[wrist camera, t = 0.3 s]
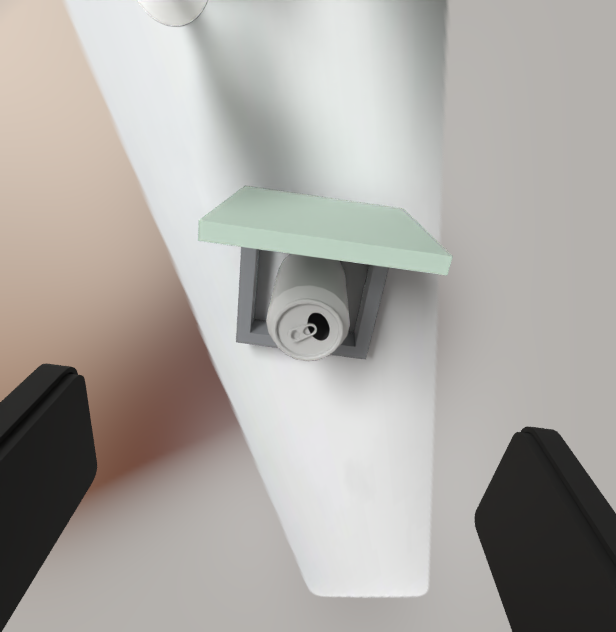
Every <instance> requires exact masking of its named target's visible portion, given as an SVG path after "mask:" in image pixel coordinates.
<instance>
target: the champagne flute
mask: <svg viewBox="0 0 616 632" xmlns="http://www.w3.org/2000/svg"><path fill="white" fill-rule="evenodd" d="M137 1H138V2H139V4H140V5H141V7H142V8H143V9H144V10H145V12H146V13H147V14H149V15H150V16H151V17H152V18H153V19H155V20H157V21H158V22H160V23H163V24H165V25H169V26H182V25H185V24H188V23H190V22H192V21H193V20H195V19H196V18H197V17H198V16H199V15H200V13H201V12H202V10H203V9H204V7H205V5H206V2H207V0H137Z"/></svg>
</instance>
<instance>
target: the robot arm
mask: <svg viewBox="0 0 616 632" xmlns="http://www.w3.org/2000/svg"><path fill="white" fill-rule="evenodd" d="M96 471H97V460H96V453H95V446H94V439H93V433H92V426H91V419H90V412H89V405H88V398H87V391H86V385H85V379H84V377H83V376H82V375H78V373H77V370H76V369H75V368H73V367H69V366H61V365H53V364H42V365H41V366H39V367H38V368H37V369H36V370H35V371H34V372H33V373H31V375H29V376H28V377H27V378H26V379H25V380H24V381H23V382H22V383H21V384H20V385H19V386H18V387H17V388H15V389H14V390H13V391H12V392H11V393H10V394H9V395H8V396H7V397H6V398H5V399H4V400H2V402H0V632H2V630H3V628H4V627H5V625H6V624H7V622H8V620H9V619H10V617H11V616H12V614H13V612H14V611H15V609H16V607H17V606H18V604H19V602H20V601H21V599H22V597H23V596H24V594H25V592H26V591H27V589H28V588H29V586H30V584H31V583H32V581H33V579H34V578H35V576H36V574H37V573H38V571H39V569H40V568H41V566H42V565H43V563H44V561H45V560H46V558H47V556H48V555H49V553H50V551H51V550H52V548H53V546H54V545H55V543H56V541H57V540H58V538H59V536H60V535H61V533H62V531H63V530H64V528H65V527H66V525H67V523H68V522H69V520H70V518H71V516H72V515H73V513H74V512H75V510H76V509H77V507H78V505H79V504H80V502H81V500H82V499H83V497H84V495H85V494H86V492H87V490H88V489H89V487H90V486H91V484H92V482H93V480H94V478H95V475H96ZM475 527H476V530H477V533H478V536H479V539H480V542H481V544H482V547H483V550H484V553H485V555H486V559H487V561H488V564H489V567H490V570H491V573H492V575H493V578H494V581H495V584H496V587H497V589H498V592H499V595H500V598H501V601H502V604H503V607H504V609H505V612H506V615H507V618H508V620H509V623H510V626H511V629H512V632H616V513H615V512H614V510H613V509H612V508H611V506H610V505H609V503H608V502H607V500H606V499H605V498H604V496H603V495H602V494H601V492H600V491H599V489H598V488H597V486H596V485H595V484H594V482H593V481H592V479H591V478H590V476H589V475H588V474H587V472H586V471H585V469H584V468H583V467H582V465H581V464H580V462H579V461H578V460H577V458H576V457H575V455H574V454H573V452H572V451H571V450H570V448H569V447H568V445H567V444H566V443H565V441H564V440H563V438H562V437H561V435H560V434H559V433H558V432H557V431H555V430H551V429H544V428H536V427H525V428H523V429H522V430H521V432H517V433H515V434H514V436H513V437H512V439H511V442H510V443H509V445H508V447H507V449H506V451H505V453H504V455H503V457H502V459H501V461H500V464H499V465H498V467H497V470H496V471H495V474H494V476H493V478H492V480H491V482H490V484H489V486H488V488H487V490H486V492H485V494H484V496H483V498H482V500H481V502H480V504H479V506H478V508H477V510H476V513H475Z"/></svg>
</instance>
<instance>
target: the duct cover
mask: <svg viewBox="0 0 616 632" xmlns="http://www.w3.org/2000/svg"><path fill="white" fill-rule="evenodd" d="M198 241H204V242H211V243H218V244H225V245H232V246H239V247H247V248H254V249H261V250H268V251H275V252H282V253H290V254H297V255H304V256H311V257H318V258H325V259H333V260H340V261H347V262H354V263H361V264H368V265H376V266H383V267H390V268H397V269H404V270H411V271H419V272H426V273H433V274H440V275H448V271H449V268H450V264H451V261H452V258H453V256H452V255H451V254H450V253H449V252H448V251H447V250H446V249H445V248H444V247H443V246H442V245H441V244H439V243H438V242H437V241H436V240H435V239H434V238H433V237H432V236H431V235H430V234H429V233H428V232H427V231H426V230H425V229H424V228H423V227H422V226H421V225H420V224H419V223H418V222H417V221H415V220H414V219H413V218H412V217H411V216H410V215H409V214H408V213H407V212H406V211H405V210H404V209H402V208H395V207H388V206H381V205H374V204H368V203H361V202H354V201H347V200H340V199H333V198H326V197H319V196H312V195H305V194H298V193H291V192H284V191H277V190H270V189H264V188H257V187H250V186H244V187H243V188H241V189H240V190H239V191H237V192H236V193H235V194H233V195H232V196H231V197H229V198H228V199H227V200H225V201H224V202H223V203H221V204H220V205H219V206H217V207H216V208H215V209H213V210H212V211H211V212H209V213H208V214H207V215H205V216H204V217H203V218H201V219H200V220H199V228H198Z"/></svg>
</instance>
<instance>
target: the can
mask: <svg viewBox="0 0 616 632" xmlns="http://www.w3.org/2000/svg"><path fill="white" fill-rule="evenodd" d="M266 322H267V327H268V332H269V334H270V336H271V337H272V339H273V341H274V342H275V343H276V345H277V347H278V348H279V349H280V350H281V351H282V352H283V353H285V354H286V355H288V356H290V357H292V358H294V359H297V360H303V361H314V360H319V359H322V358H325V357H327V356H329V355H330V354H331V353H333V352H334V351H335V350H336V349H337V347H339V346H340V345H341V344H342V342H343V341H344V339H345V338H346V337H347V334H348V330H349V327H350V321H349V310H348V299H347V289H346V279H345V271H344V269H343V267H342V264H341V262H340V261H339V260H333V259H325V258H318V257H311V256H304V255H297V254H290V255H289V256H288V257H286V258H285V259H284V260H283V262H282V264H281V266H280V267H279V270H278V274H277V278H276V282H275V286H274V289H273V293H272V297H271V301H270V305H269V309H268V314H267V320H266Z"/></svg>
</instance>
